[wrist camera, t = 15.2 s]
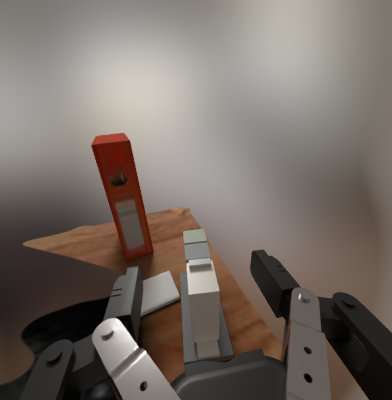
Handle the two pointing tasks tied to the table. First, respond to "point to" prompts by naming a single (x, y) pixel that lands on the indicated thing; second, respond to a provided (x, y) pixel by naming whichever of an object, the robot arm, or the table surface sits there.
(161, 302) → the external hard drive
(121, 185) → the file binder
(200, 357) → the board
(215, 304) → the block
